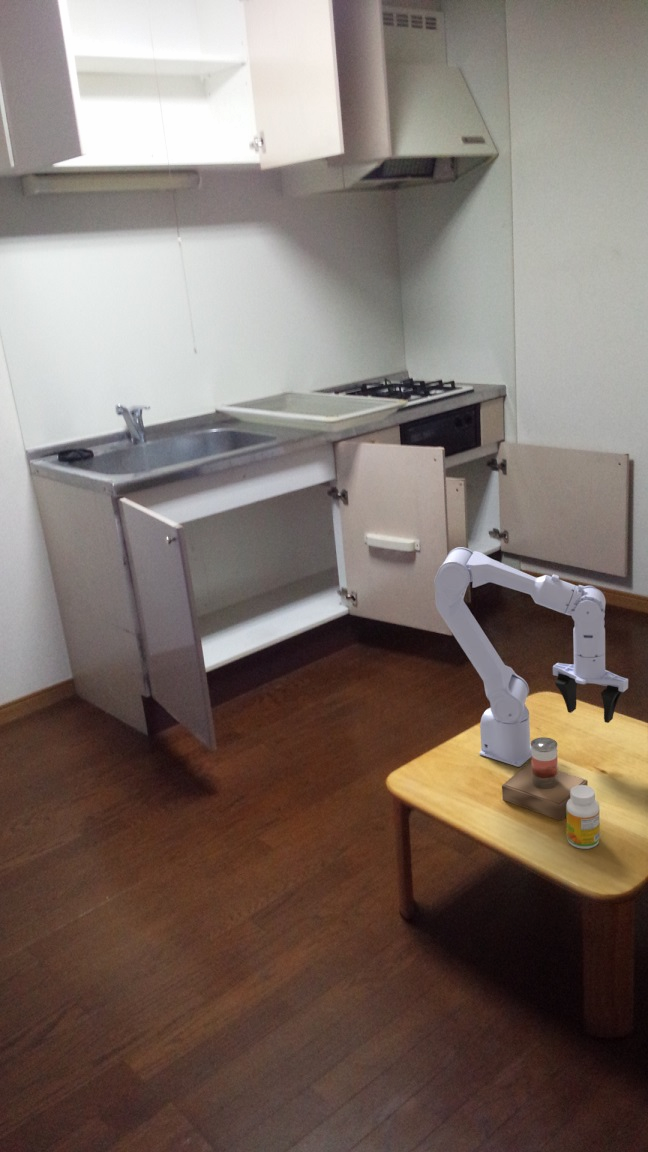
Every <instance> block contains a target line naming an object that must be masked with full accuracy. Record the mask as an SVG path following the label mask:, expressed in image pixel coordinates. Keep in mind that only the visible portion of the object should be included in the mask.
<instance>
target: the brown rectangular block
mask: <svg viewBox="0 0 648 1152" xmlns="http://www.w3.org/2000/svg"><path fill="white" fill-rule="evenodd" d="M577 785H586V786H589V784H588V779H586V778H585V779H584V778H582V777H579V776H576V775H572V774H569V773H566V772H563V771H560V770H558V784H557V785H556V786H555V787H553V788H550V789H542V788H538V787H536V786H535V785H534V784H533V783H532V761H529V762H528V763H526V765H523V767H522V768H521V769H520V770H519V771H517V772H516V773H515V774H514V775H512V776H511V777H510V778H509V779H508V780H507V781H505V782H504V783H503V784H502V785H501V790H502V791H501V792H502V793H501V795H502V800H503V801H505V802H508V803H510V804H513V805H517V806H520V807H521V808H522V807H523V808H524V809H527V810H530V811H533V812H536V813H538V814H542V815H544V816H547V817H549V818H553V819H555V820H558V821H562V820H564V818H566V817H567V811H566V805H567V802H568V800H569V799H570V791H571V789H572V788H573V787H574V786H577Z"/></svg>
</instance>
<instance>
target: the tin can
mask: <svg viewBox="0 0 648 1152" xmlns="http://www.w3.org/2000/svg"><path fill="white" fill-rule="evenodd" d="M530 745H531V758H530V759H531V762H532V783H533V784H534V785H535V786H536V787H538V788H542V789H550V788H553V787H555V786H556V785H557V784H558V771H559V770H558V769H559V766H558V765H559V764H558V763H559V762H558V742H557V740H555V739H553V738H550V737H546V736H545V737H536V738H534V739H532V740H530Z"/></svg>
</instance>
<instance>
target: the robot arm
mask: <svg viewBox="0 0 648 1152" xmlns="http://www.w3.org/2000/svg"><path fill="white" fill-rule="evenodd" d="M470 583H472V587H471V588H472V589H473V588H477V587H480V586H482V585H486V584H489V583H492V584H495V585H498V586H501V587H504V588H507V589H511V590H514V591H518V592H521V593H524V594H526V595H527V594H528V595H530V596H531V598H532V600H533V601H534V603H535V604H537V605H539V606H542V607H545V608H547V609H551V610H553V611H556V612H558V613H560V614H564V615H567V616H571V619H572V620H573V622H574V627H573V633H572V634H573V637H572V638H573V664H570V663H562V662H557V663H555V664H553V666H552V675H553V676H555V677H557V679H555V682H554V683H555V686H556V687H557V689H558V691H560V693H561V695H562V697H563V701H564V704H565V706H566V710H567V713H570V714H571V713H573V712H574V711H575V710H576V709H577V687H578V685H579V684H580V685H587V684H594V685H599V686H603V687H606V688H605V689H604V690H602V691H600V692H601V693H600V695H601V699H602V703H603V721H604V723H607V724H609V723H610V722H611V721H612V720H613V719H614V714H615V710H616V707H617V704H618V702H619V699H620V698H621V696H622V694H623V693H624V692H625V691H626V690H628V689H629V678H626V677H622V676H620V675H618V674H615V673H613V672H612V671H609V670H606V628H605V624H606V623H605V615H606V613H605V611H606V604H607V603H606V602H607V601H606V597H605V594H604V593H603V592H602V591H601V590H600V589H599V588H596V587H595V586H594V585H585V586H584V585H581V584H578V585H575V584H573V583H570V582H567V581H564V580H563V579H560V576H559V575H557V574H552V576H551V575H548V574H544V575H541V576H539V577H535V576H533V575H531V574H528V573H526V572H524V571H521V570H519V569H517V568H514V567H512V566H510V565H507V564H506V563H502V562H501V561H498V560H495V559H493V558H491V557H489V556H487V555H486V554H484V553H482V552H480V551H475V550H471V549H469V548H467V547H463V546H462V547H461V546H459V547H455V548H452V549H451V550H450V551H449V552H448V554H447V556H446V558H445V560H444V561H443V563H442V564H441V565H440V567H439V568H438V569H437V572H436V574H435V577H434V579H433V584H434V588H435V589H434V592H435V593H434V594H435V595H434V596H435V599H434V600H435V608H436V610H437V612H438V614H439V615H440V617H441V618H442V620H443V621H444V622H445V624H446V626H447V627H448V629H449V630H450V631H451V633H452V635H453V637H454V638H455V640H456V641H457V643H458V644H459V646H460V648H461V649H462V650H463V652H464V653H465V655H466V656H467V658H468V659H469V661H470V663H471V664H472V666H473V668H474V669H475V670H476V672H477V673H478V675H479V677H480V678H481V680H482V681H483V686H484V692H485V696H486V698H487V700H488V701H489V704H490V707H489V708H487V709H486V710H485V711H484V712H483V713H482V716H481V718H480V725H479V731H480V748H481V749H480V751H479V752H478V754H479V755H480V756H483V757H487V758H489V759H492V760H496V761H499V762H502V763H505V764H509V765H511V766H515V767H518V768H519V767H522V766H524V764H525V763H526V762H528V761H529V759H531V731H530V730H531V728H530V724H531V723H530V711H529V708H528V707H527V706H526V702H527V698H528V696H529V694H530V688H529V685H528V683H527V681H526V680H525V679H524V678H523V677H521V676H520V675H518V674H517V673H516V672H515V670H513V668H512V667H511V666H508V665H505V662H504V661H503V660H502V658H501V656H500V655H499V654H498V652H497V651H496V649H495V648H494V646H493V644H492V642H491V641H490V640H489V638H488V636H487V635H486V634H485V632H484V630H483V629H482V627H481V625H480V624H479V623H478V621H477V620H476V618H475V616H474V615H473V614H472V612H471V610H470V609H469V607H468V605H467V604H466V603H465V601H464V598H465V594H466V591H467V588H468V586H469V585H470Z"/></svg>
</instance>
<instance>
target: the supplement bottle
mask: <svg viewBox="0 0 648 1152" xmlns="http://www.w3.org/2000/svg"><path fill="white" fill-rule="evenodd" d="M595 791H596V790H595V789H594V788H593V787H592V786H590V785H588V786H586V785H577V786H574V787H573V788H572V789H571V791H570V799H569V800H568V802H567V805H566V811H567V815H566V840H567V841H568V843H569V844H570V845H571V846H572V847H574V848H577V849H583V850H588V849H593V848H594V847H596V846H597V845H598V844H599V843H600V837H601V836H600V835H601V833H600V832H601V831H600V830H601V829H600V827H601V826H600V804H599V802H598V801H597V800H596V792H595Z"/></svg>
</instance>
